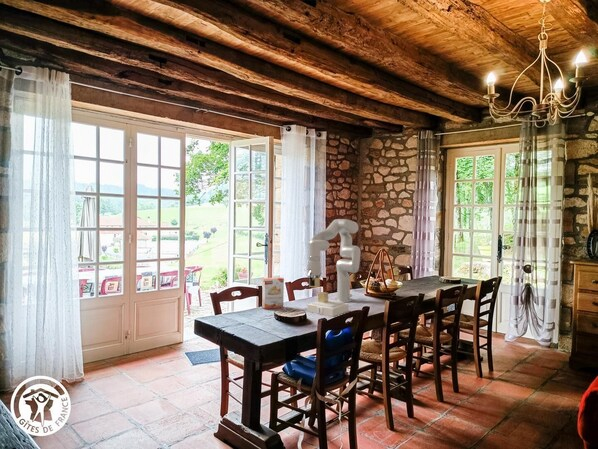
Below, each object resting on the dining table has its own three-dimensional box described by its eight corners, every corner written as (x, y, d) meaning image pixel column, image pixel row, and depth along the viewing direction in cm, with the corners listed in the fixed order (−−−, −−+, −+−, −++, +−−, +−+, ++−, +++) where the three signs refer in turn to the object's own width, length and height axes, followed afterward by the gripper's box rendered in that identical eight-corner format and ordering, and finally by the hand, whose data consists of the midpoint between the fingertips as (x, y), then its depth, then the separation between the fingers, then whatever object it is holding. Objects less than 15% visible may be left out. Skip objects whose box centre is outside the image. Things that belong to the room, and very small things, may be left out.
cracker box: (264, 309, 280) (264, 279, 280) (262, 307, 286) (262, 277, 285) (283, 308, 285) (284, 278, 285) (281, 306, 291) (281, 276, 290)
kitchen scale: (323, 306, 290) (323, 298, 290) (348, 310, 278) (348, 302, 278) (306, 312, 273) (306, 303, 273) (332, 316, 261) (332, 307, 261)
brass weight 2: (322, 300, 282) (322, 292, 282) (328, 301, 279) (328, 292, 279) (318, 301, 278) (318, 293, 278) (324, 302, 275) (324, 293, 275)
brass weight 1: (313, 285, 283) (313, 277, 282) (319, 286, 279) (319, 277, 279) (309, 286, 279) (309, 277, 279) (315, 287, 276) (315, 278, 275)
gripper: (317, 257, 288) (317, 283, 288) (302, 259, 274) (302, 286, 275) (326, 258, 283) (326, 284, 283) (311, 260, 270) (311, 287, 270)
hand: (314, 285), depth 279 cm, fingers closed on brass weight 1, 5 cm apart
